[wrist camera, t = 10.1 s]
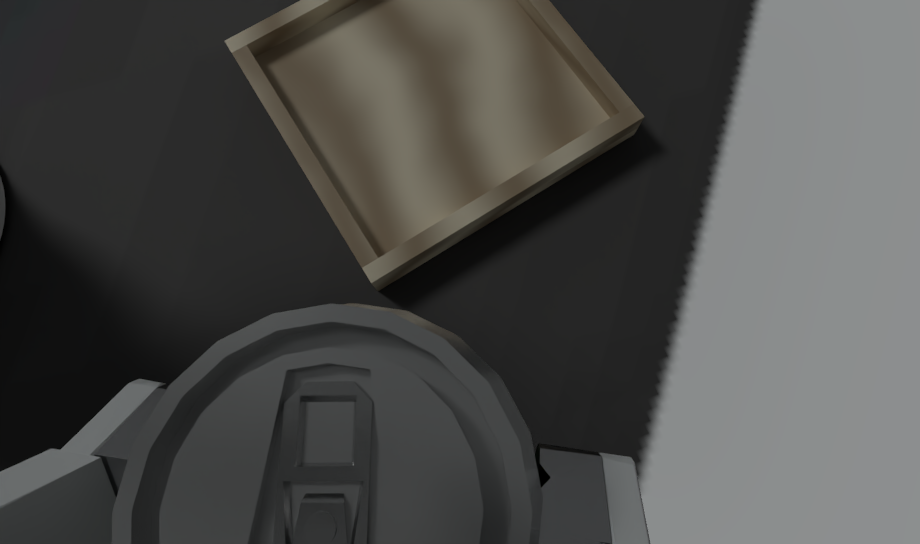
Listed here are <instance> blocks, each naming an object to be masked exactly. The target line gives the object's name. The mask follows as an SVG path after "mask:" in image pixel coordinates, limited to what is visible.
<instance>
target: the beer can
mask: <svg viewBox="0 0 920 544" xmlns="http://www.w3.org/2000/svg"><path fill="white" fill-rule="evenodd" d="M542 505H543V495H542V490H541V485H540V480H539V475H538V469H537V464H536V459H535V454H534V449H533V444H532V439H531V433H530V431H529V429H528V428H527V426H526V424H525V422H524V420H523V418H522V416H521V414H520V413H519V411H518V409H517V407H516V405H515V403H514V401H513V399H512V398H511V396H510V394H509V392H508V390H507V388H506V386H505V384H504V383H503V381H502V379H501V377H500V376H499V375H498V374H497V373H496V372H495V371H494V370H493V369H492V368H491V367H490V366H488V365H487V364H486V363H485V362H484V361H483V360H482V359H481V358H480V357H479V356H478V355H477V354H476V353H475V352H474V351H473V350H472V349H471V348H470V347H469V346H468V345H467V344H466V343H465V342H464V341H463V340H462V339H461V338H460V337H459V336H457V335H455V334H453V333H451V332H449V331H447V330H445V329H443V328H441V327H439V326H437V325H435V324H433V323H431V322H429V321H427V320H425V319H423V318H421V317H419V316H417V315H415V314H413V313H411V312H408V311H405V310H398V309H391V308H383V307H376V306H369V305H362V304H355V303H348V304H342V305H339V304H326V305H320V306H314V307H309V308H303V309H297V310H291V311H285V312H279V313H273V314H271V315H269V316H267V317H265V318H263V319H261V320H259V321H257V322H255V323H253V324H251V325H249V326H247V327H245V328H243V329H241V330H239V331H237V332H235V333H233V334H231V335H229V336H227V337H225V338H223V339H221V340H219V341H217V342H216V343H215V344H214V345H213V346H212V347H210V348H209V349H208V350H207V351H206V352H205V353H204V354H203V355H202V356H201V357H200V358H198V359H197V360H196V361H195V362H194V363H193V364H192V365H191V366H190V367H189V368H188V369H186V370H185V371H184V372H183V373H182V374H181V375H180V376H179V377H178V378H177V379H176V380H175V381H173V382H172V383H171V384H170V385H169V386H168V388H167V390H166V391H165V393H164V394H163V396H162V398H161V399H160V401H159V402H158V404H157V406H156V407H155V409H154V410H153V412H152V414H151V415H150V417H149V418H148V420H147V422H146V423H145V425H144V426H143V428H142V429H141V431H140V433H139V434H138V436H137V437H136V439H135V441H134V442H133V444H132V448H131V451H130V454H129V458H128V461H127V464H126V467H125V471H124V474H123V477H122V481H121V484H120V487H119V491H118V494H117V497H116V501H115V504H114V507H113V511H112V544H539V535H540V525H541V515H542Z"/></svg>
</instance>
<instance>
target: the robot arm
mask: <svg viewBox="0 0 920 544" xmlns="http://www.w3.org/2000/svg"><path fill="white" fill-rule="evenodd" d="M4 220H5V193H4V188H3V183H2V180H1V177H0V239H1V236H2V232H3V227H4ZM169 385H170V384H168V383H160V382H155V381H149V380H144V379H137V380H135V381H132V382H130V383H128V384H127V385H126V386H125V387H124V388H123V389H122V390H121V391H120V392H119V393H118V394H117V395H116V396H115V397H114V398H113V399H112V400H111V401H110V402H109V403H108V404H107V405H106V406H105V407H104V408H103V409H102V410H101V411H100V412H99V413H97V414H96V415H95V416H94V417H93V418H92V419H91V420H90V421H89V422H88V423H87V424H86V425H85V426H84V427H83V428H82V429H81V430H80V431H79V432H78V433H77V434H76V435H75V436H74V437H73V438H72V439H71V440H70V441H69V442H68V443H67V444H66V445H65V446H64V447H63V448H62V449H61V450H58V449H49V450H47V451H45V452H43V453H40V454H38V455H36V456H34V457H32V458H29V459H27V460H25V461H23V462H21V463H18V464H16V465H14V466H12V467H10V468H7V469H5V470H3V471H1V472H0V544H112V511H113V507H114V504H115V501H116V497H117V494H118V491H119V487H120V484H121V481H122V477H123V474H124V471H125V467H126V464H127V461H128V458H129V454H130V451H131V448H132V444H133V442H134V441H135V439H136V437H137V436H138V434H139V433H140V431H141V429H142V428H143V426H144V425H145V423H146V422H147V420H148V418H149V417H150V415H151V414H152V412H153V410H154V409H155V407H156V406H157V404H158V402H159V401H160V399H161V398H162V396H163V394H164V393H165V391H166V390H167V388H168V386H169ZM535 459H536V464H537V469H538V475H539V480H540V485H541V490H542V495H543V505H542V515H541V525H540V535H539V544H650V540H649V534H648V530H647V524H646V519H645V514H644V509H643V504H642V498H641V493H640V488H639V483H638V478H637V473H636V467H635V463H634V461H633V460H632V458H631V457H626V456H619V455H612V454H606V453H598V452H594V451H587V450H580V449H574V448H567V447H560V446H553V445H547V444H540V443H538V446H537V448H536V453H535Z"/></svg>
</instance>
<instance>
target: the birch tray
mask: <svg viewBox="0 0 920 544" xmlns="http://www.w3.org/2000/svg"><path fill="white" fill-rule="evenodd" d="M225 42H226V44H227V46H228V47H229V49H230V51H231V52H232V54H233V56H234V57H235V59H236V61H237V62H238V64H239V66H240V67H241V69H242V71H243V72H244V74H245V75H246V77H247V79H248V80H249V82H250V84H251V85H252V87H253V89H254V90H255V92H256V94H257V95H258V97H259V99H260V100H261V102H262V104H263V105H264V107H265V109H266V110H267V112H268V113H269V115H270V117H271V118H272V120H273V122H274V123H275V125H276V127H277V128H278V130H279V132H280V133H281V135H282V137H283V138H284V140H285V142H286V143H287V145H288V147H289V148H290V150H291V151H292V153H293V155H294V156H295V158H296V160H297V161H298V163H299V165H300V166H301V168H302V170H303V171H304V173H305V175H306V176H307V178H308V180H309V181H310V183H311V185H312V186H313V188H314V189H315V191H316V193H317V194H318V196H319V198H320V199H321V201H322V203H323V204H324V206H325V208H326V209H327V211H328V213H329V214H330V216H331V218H332V219H333V221H334V222H335V224H336V226H337V227H338V229H339V231H340V232H341V234H342V236H343V237H344V239H345V241H346V242H347V244H348V246H349V247H350V249H351V251H352V252H353V254H354V256H355V257H356V259H357V260H358V262H359V264H360V265H361V267H362V269H363V270H364V272H365V274H366V275H367V277H368V279H369V280H370V282H371V284H372V285H373V286H374V287H375V288H376V289H377V291H379V290H381V289H383V288H384V287H386V286H388V285H389V284H391V283H392V282H394V281H396V280H397V279H399V278H401V277H402V276H404V275H405V274H407V273H409V272H410V271H412V270H414V269H415V268H417V267H419V266H420V265H422V264H423V263H425V262H427V261H428V260H430V259H432V258H433V257H435V256H437V255H438V254H440V253H441V252H443V251H445V250H446V249H448V248H450V247H451V246H453V245H454V244H456V243H458V242H459V241H461V240H463V239H464V238H466V237H468V236H469V235H471V234H472V233H474V232H476V231H477V230H479V229H481V228H482V227H484V226H486V225H487V224H489V223H490V222H492V221H494V220H495V219H497V218H499V217H500V216H502V215H503V214H505V213H507V212H508V211H510V210H512V209H513V208H515V207H517V206H518V205H520V204H521V203H523V202H525V201H526V200H528V199H530V198H531V197H533V196H535V195H536V194H538V193H539V192H541V191H543V190H544V189H546V188H548V187H549V186H551V185H553V184H554V183H556V182H557V181H559V180H561V179H562V178H564V177H566V176H567V175H569V174H570V173H572V172H574V171H575V170H577V169H579V168H580V167H582V166H584V165H585V164H587V163H588V162H590V161H592V160H593V159H595V158H597V157H598V156H600V155H602V154H603V153H605V152H606V151H608V150H610V149H611V148H613V147H615V146H616V145H618V144H619V143H621V142H623V141H624V140H626V139H628V138H629V137H631V136H633V135H634V134H635V132H636V131H637V129H638V127H639V125H640V124H641V122H642V120H643V119H644V116H643V114H642V113H641V112H640V111H639V109H638V108H637V107H636V106H635V105H634V103H633V102H632V101H631V100H630V98H629V97H628V96H627V95H626V94H625V92H624V91H623V90H622V89H621V88H620V86H619V85H618V84H617V83H616V81H615V80H614V79H613V78H612V77H611V75H610V74H609V73H608V72H607V70H606V69H605V68H604V67H603V66H602V64H601V63H600V62H599V61H598V59H597V58H596V57H595V56H594V55H593V53H592V52H591V51H590V50H589V48H588V47H587V46H586V45H585V44H584V42H583V41H582V40H581V39H580V37H579V36H578V35H577V34H576V33H575V31H574V30H573V29H572V28H571V27H570V25H569V24H568V23H567V22H566V20H565V19H564V18H563V17H562V16H561V14H560V13H559V12H558V11H557V9H556V8H555V7H554V6H553V5H552V3H551V2H550V1H549V0H300V1H299V2H297V3H295V4H293V5H291V6H289V7H287V8H285V9H284V10H282V11H280V12H278V13H276V14H274V15H272V16H270V17H269V18H267V19H265V20H263V21H261V22H259V23H257V24H255V25H254V26H252V27H250V28H248V29H246V30H244V31H242V32H240V33H238V34H237V35H235V36H233V37H231V38H229V39H227V40H225Z"/></svg>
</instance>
